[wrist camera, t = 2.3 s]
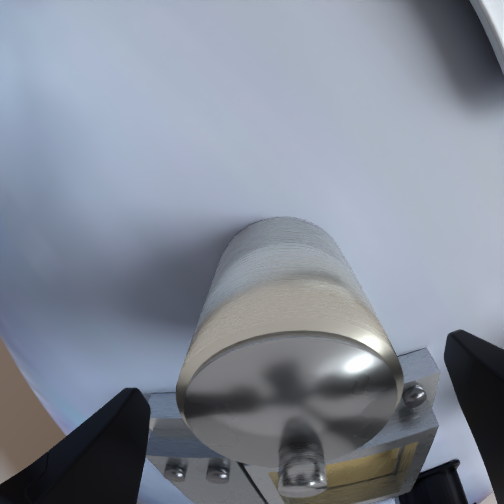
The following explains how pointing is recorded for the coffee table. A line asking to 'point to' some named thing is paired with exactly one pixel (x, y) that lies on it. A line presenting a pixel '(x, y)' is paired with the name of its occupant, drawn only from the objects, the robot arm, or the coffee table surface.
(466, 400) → the robot arm
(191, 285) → the coffee table surface
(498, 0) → the salad plate
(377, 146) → the coffee table surface
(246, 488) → the gearbox
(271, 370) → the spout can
